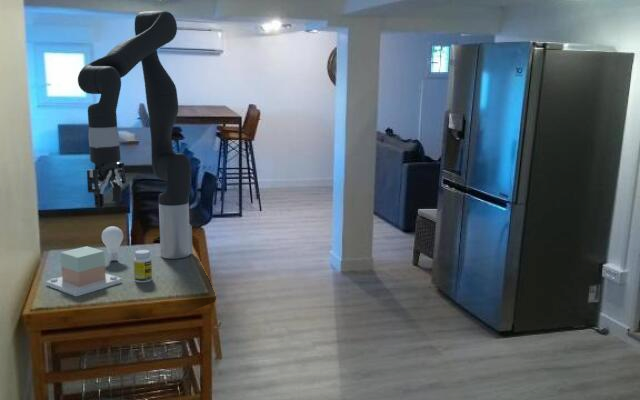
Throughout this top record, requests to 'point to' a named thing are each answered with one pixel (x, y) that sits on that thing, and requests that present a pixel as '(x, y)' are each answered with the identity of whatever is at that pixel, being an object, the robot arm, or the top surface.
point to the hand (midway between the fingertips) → (108, 204)
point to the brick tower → (83, 272)
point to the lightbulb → (112, 241)
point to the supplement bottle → (142, 266)
